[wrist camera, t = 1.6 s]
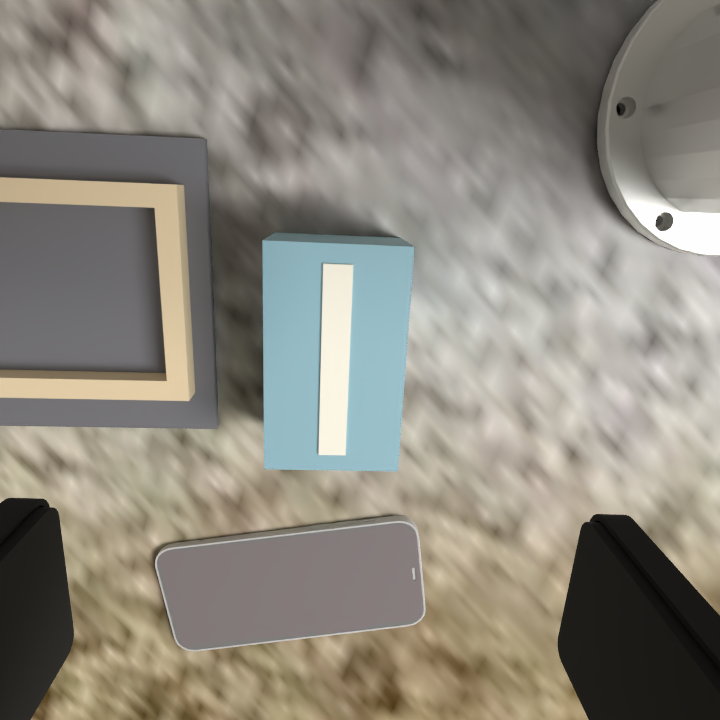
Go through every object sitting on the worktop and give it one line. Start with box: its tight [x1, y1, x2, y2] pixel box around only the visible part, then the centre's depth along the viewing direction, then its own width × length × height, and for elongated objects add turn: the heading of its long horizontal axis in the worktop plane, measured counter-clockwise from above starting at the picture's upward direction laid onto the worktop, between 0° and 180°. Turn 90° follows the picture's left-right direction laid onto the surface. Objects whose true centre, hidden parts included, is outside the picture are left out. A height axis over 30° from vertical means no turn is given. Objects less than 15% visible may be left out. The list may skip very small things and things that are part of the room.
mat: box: [0, 129, 219, 429], centre depth 25 cm, size 16×14×2 cm
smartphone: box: [155, 515, 426, 651], centre depth 31 cm, size 7×1×15 cm
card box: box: [262, 232, 414, 471], centre depth 25 cm, size 10×6×5 cm, turn 177°
